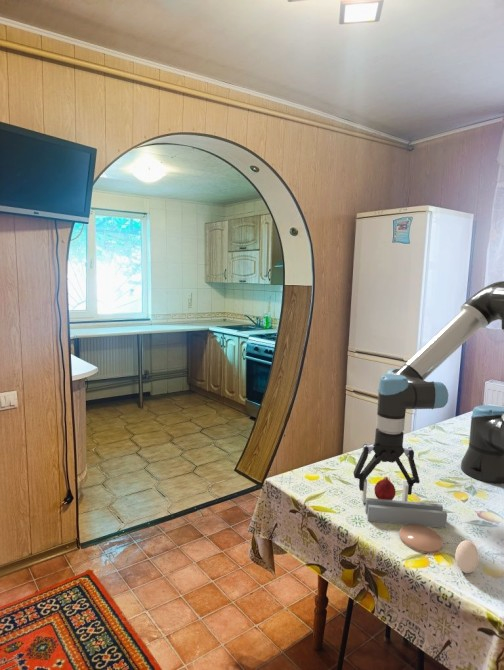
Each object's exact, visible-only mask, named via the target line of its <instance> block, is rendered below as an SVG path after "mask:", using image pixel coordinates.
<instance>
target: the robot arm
mask: <svg viewBox="0 0 504 670" xmlns="http://www.w3.org/2000/svg"><path fill="white" fill-rule="evenodd" d="M499 320H500V321H501V331H502V332H504V281H503V280H502V281H501V280H500V281H496V282H493V283H491V284H488V285H486V286H485V287H483V288H482V289H480V290H478V292H476V293H475V294H473V295H472V296H471V297H470V298H469V299H467V300H466V301H465V302H464V303H463V304H462V305H461V306H460V311H459V312H458V313H457V314H456V315H455V316H453V318H452V319H451V320H450V321H449V322H448V323H446V325H445V326H444V327H442V328H441V329H440V330H439V331H438V332H437V333H435V335H434V336H432V337H431V339H429V341H427V342H426V344H423V346H422V347H421V348H420V349H418V351H417V352H416V353H415V354H413V356H411V357H410V358H409V359H408V360H407V361H406V362H405V363H404V364H403V365H402V366H400V368H392V369H389V370H388V371H387V372H386V373H385V374H383V375H381V377H380V379H379V385H378V390H377V392H378V394H377V395H378V398H377V413H376V421H375V422H376V423H375V426H376V429H375V435H374V444H373V445H368V444H367V443H364V444H363V445H362V452H361V455H360V456H359V459H358V461H357V462H356V465H355V468H354V471H352V472H353V476H354V478H355V479H358V480H359V481H358V488H359V491H361V492H362V493H361V501H362V504H366V498H367V490H368V489H367V488H368V480H367V478H368V477H369V476H370V474H371V473H372V472H373V470H374V469H375V468H376V467H377V465H379V464H380V463H381V462H382V463H391V464H392V463H396V464H397V466H398V467H399V470H400V471H401V473H402V475H403V476H404V478H405V480H403V484H402V497H401V501H408V499H409V498H408V497H409V496H411V495H412V493H413V486H414V485H415V484H419V483H420V482H421V481H420V477H419V473H418V469H417V466H416V462H415V459H414V457H415V451H414V450H413V448H412V447H411V446H410V447H408V448H406V447H405V448H404V435H405V433H404V431H405V421H406V413H407V412H406V410H434V409H441V408H445V407H446V406H447V403H448V402H449V392H448V391H449V390H448V388H447V386H446V385H445V384H444V383H443V382H441V381H426V379H427V378H428V377H429V376H430V375H431V374H432V373H434V371H435V370H437V369H438V368H439V367H440V366H441V365H442V364H443V363H444V362H445V361H446V360H448V358H449V357H450V356H451V355H453V353H455V352H456V351H457V350H458V349H459V348H460V347H461V346H463V344H464V343H465V342H466V341H468V339H470V338H471V337H472V336H473V335H474V334H475V333H476V332H477V331H478V330H480V329H481V328H482V329H483V328H486V327H488V325H490V324H491V323H493V322H496V321H499ZM470 418H471V420H470V430H469V442H468V448H467V450H466V452H465V454H463V457H462V460H461V463H460V469H461V471H462V472H463V473H465V474H466V475H467V476H469V477H471V478H474V479H476V480H479V481H482V482H486V483H492V484H504V406H501V405H500V406H499V405H492V404H491V405H487V404H486V405H485V404H484V405H483V404H482V405H477V406H475V407H474V408H472V413H471V417H470ZM371 452H374V455H373V456H372V458H371V460H370V461H369V462H368V463H367V464H366V461H367V459H368V457H369V454H371ZM403 454H405V456H406V457H407V461H408V464H409V468H410V471H411V474H412V476H410V475H409V473H408V471H407V470H406V468H405V466H404V465H403V463H402V461H401V459H400V458H401V456H402V455H403ZM365 464H366V466H365ZM364 466H365V467H364Z"/></svg>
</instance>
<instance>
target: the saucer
mask: <svg viewBox="0 0 504 670" xmlns="http://www.w3.org/2000/svg"><path fill="white" fill-rule="evenodd" d="M399 539H400V541H401V542H402V543H403V544H404V545H405V546H406V547H408V548H410V549H413V550H414V551H418V552H421V553H430V554H432V553H437V552H439V551H440V550H441V549H442V548H443V544H444V543H443V537H442V536H441V535H440V534H439V533H438V532H437V531H435V530H434V529H432V528H430V527H429V526H421V525H414V524H412V525H408V524H405V525H403V526H402V527H401V528H400V529H399Z"/></svg>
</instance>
